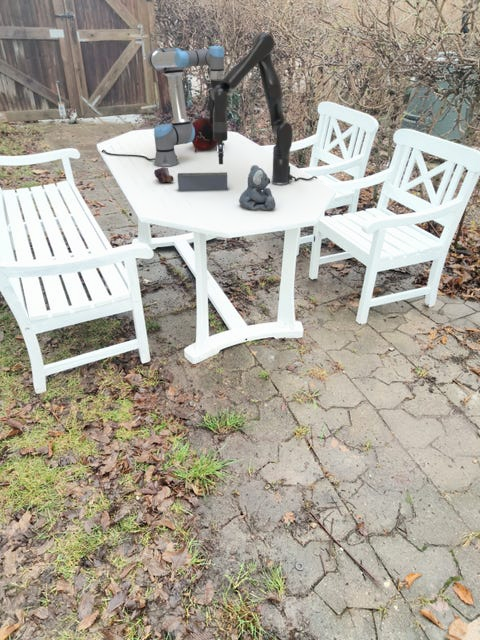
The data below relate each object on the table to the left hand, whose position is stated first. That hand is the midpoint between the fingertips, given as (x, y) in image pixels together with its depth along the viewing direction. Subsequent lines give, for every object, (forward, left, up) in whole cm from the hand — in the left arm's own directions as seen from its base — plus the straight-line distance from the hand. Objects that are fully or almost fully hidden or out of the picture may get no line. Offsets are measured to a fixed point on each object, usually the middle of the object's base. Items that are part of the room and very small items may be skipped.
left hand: (218, 121), depth 256 cm
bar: (+11, -25, -31) cm, 41 cm away
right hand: (+19, -18, -16) cm, 30 cm away
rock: (-15, -31, -31) cm, 46 cm away
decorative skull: (-54, +40, -31) cm, 73 cm away
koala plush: (+51, -25, -31) cm, 64 cm away
